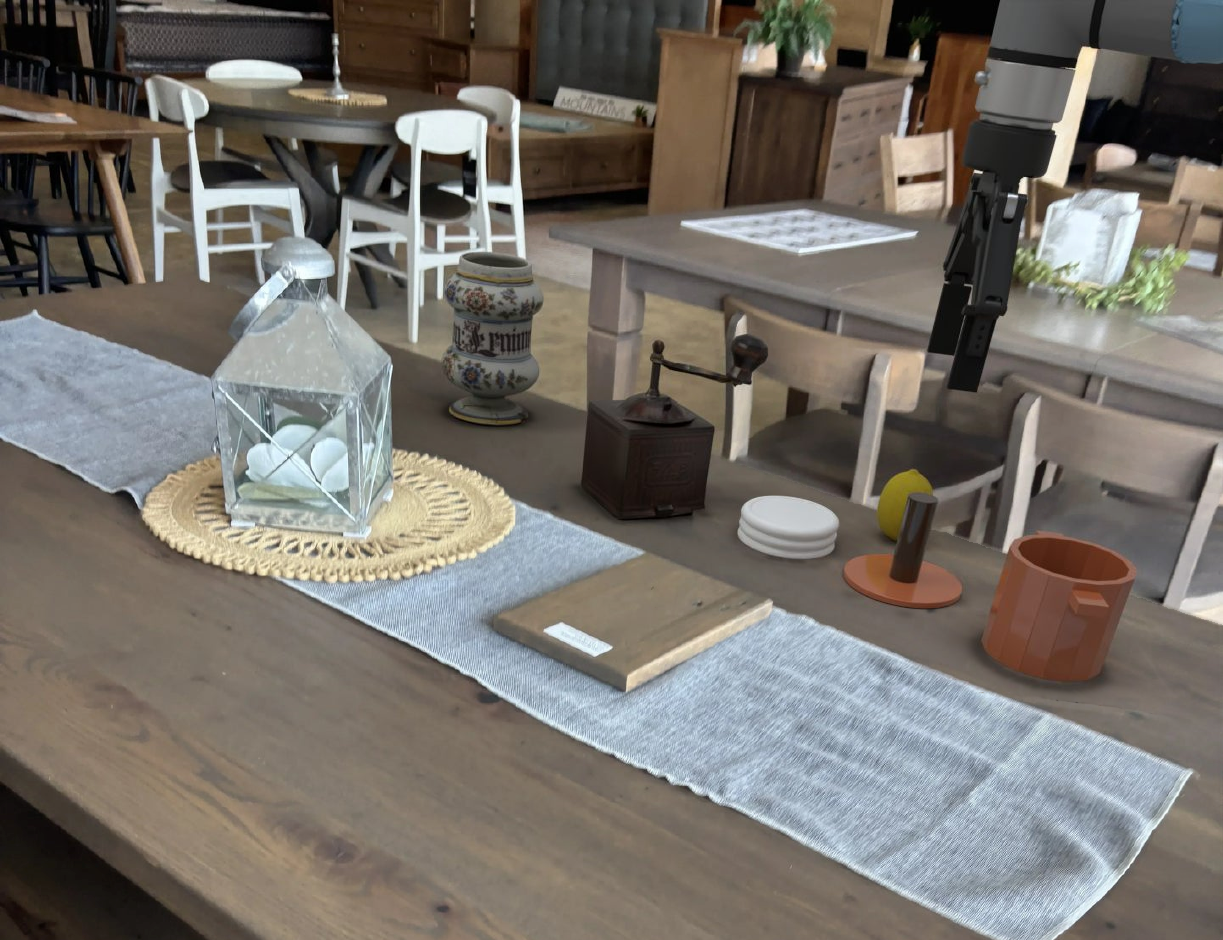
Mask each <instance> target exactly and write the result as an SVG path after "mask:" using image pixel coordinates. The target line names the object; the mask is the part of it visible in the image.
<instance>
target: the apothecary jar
mask: <svg viewBox="0 0 1223 940" xmlns="http://www.w3.org/2000/svg"><path fill="white" fill-rule="evenodd" d="M443 294H444V295H443V296H444V299H445V300H446V302H447V303H448V305H449V306H450V307H452V309H453V322H452V323H453V327H452V340H451V344H450V345H449V347H447V348H446V350H444V352H443V354H442V356H441V359H440V366H441V367H440V368H441V370H442V373H443V374H444V376H445V378H447V380H448V381H449V382H450V383H451V384H453V385H454V386H455V387H457V388H459V389H461V390H462V391H464V392H467V393H469V394H471V395H469V396H466V397H465V396H464V397H462V398H461V399H457V400H455V401H453V402H452V403H451V404H450V406H449V407H448V411H449V413H450V415H451V416H453V417H454V418H456V419H458V420H462V421H464V422H466V423H471V424H478V425H484V426H512V425H517V424H520V423H522V420H527V419H528V417H529V413H528V411H527V410H526V409H525V408H524V407H523V406H521V405H519V404H517V403H516V402H515V401H513V400H511V399H509V398H506V397H508V396H509V397H510V396H514V395H517V394H521V393H524V392H526V391H528V390H530V388H532V387H533V386H534V385H535V384H536V383H537V381H538V379H539V377H540V366H539V363H538V361H537V359H536V358H535V356H534V355H533V354H532V353H531V352H532V351H531V350H532V328H533V320H534V316H535V315H536V314H538V312H540V311H541V309H542V308H543V305H544V301H545V297H544V293H543V291H542V288H541V287H540V286H539V284H538V283H537V282H536V281H535V280H534V276H533V265H532V262H531V261H530V260H528V259H526V258H524V257H521V256H517V255H513V254H508V253H502V252H495V251H494V252H492V251H470V252H465V253H462V254H461V255H459V259H458V266H457V268H456V272H455V273H454V274H453V275H451V276H450V277H449V278H448V279H447V280H446V282H445V284H444V288H443Z"/></svg>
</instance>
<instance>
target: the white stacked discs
mask: <svg viewBox="0 0 1223 940" xmlns="http://www.w3.org/2000/svg"><path fill="white" fill-rule="evenodd" d="M740 515H741V516H740V518H739V520H738V523H739V527H738V529H737V537H738V539H739V540H740V541H741V542H742V543H743V544H745V545H746V546H748V547H749V548H751V549H753V550H755V551H758V552H761V553H762V554H767V555H771V556H773V557H779V558H785V559H792V560H811V559H818V558H823V557H826V556H828V555H829V554H831V553H832V552H833V551H834V549H835V547H836V545H835V542H836V540H837V537H838V533H837V531H838V530H839V527H840V521H839V518H838V516H837V515H836V514H835V512H834V511H832V510H831V509H830V508H828V507H826V506H824V505H822V504H820V503H818V502H815V501H811V500H808V499H804V498H801V497H800V498H799V497H794V496H789V495H788V496H787V495H762V496H757V497H754V498H751V499H749V500H747V501H746V502H745V503H744V504H743V505H742V507H741V509H740Z"/></svg>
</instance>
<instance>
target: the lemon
mask: <svg viewBox="0 0 1223 940" xmlns="http://www.w3.org/2000/svg"><path fill="white" fill-rule="evenodd" d="M913 492H922V493H927V494H930V495H933V496H934V491H933V487H932V485H931V483H930V481H929V480H928V478H927V477H925V476H924V475H922V474H920V472H919V471H918V470H917V469H915V468H911V469H908V470H907V471H902V472H899V473H897V474H896V475H894V476H893V477H891V478H890V479H889V480H888V482H887V483H886V484H885V485H884V487H883V489H882V491H881V494H880V496H879V499H878V503H877V507H876V508H877V509H876V518H877V522H878V526H879V528H880V530H881V531H882V532H883V533H884V534H885V535H886V536H887V537H889V538H890V539H891V540H892V541H894V542H897V540H898V535H899V531H900V527H901V523H902V519H903V515H904V511H905V507H906V503H907V498H908V495H909V494H910V493H913Z"/></svg>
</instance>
